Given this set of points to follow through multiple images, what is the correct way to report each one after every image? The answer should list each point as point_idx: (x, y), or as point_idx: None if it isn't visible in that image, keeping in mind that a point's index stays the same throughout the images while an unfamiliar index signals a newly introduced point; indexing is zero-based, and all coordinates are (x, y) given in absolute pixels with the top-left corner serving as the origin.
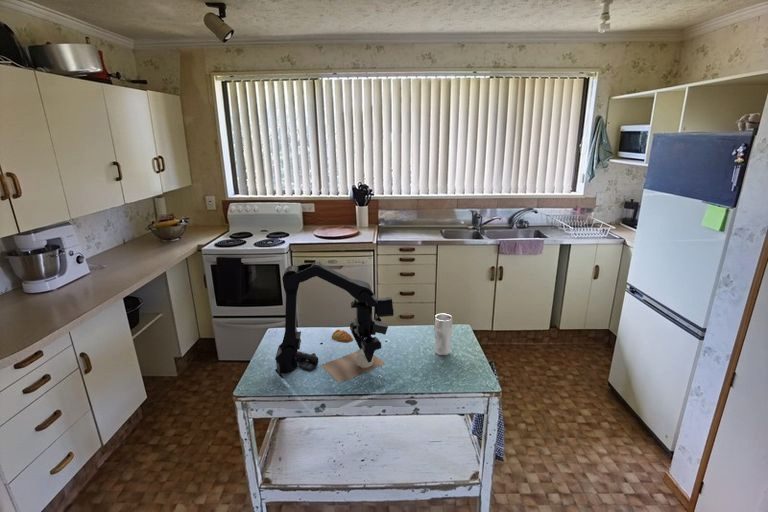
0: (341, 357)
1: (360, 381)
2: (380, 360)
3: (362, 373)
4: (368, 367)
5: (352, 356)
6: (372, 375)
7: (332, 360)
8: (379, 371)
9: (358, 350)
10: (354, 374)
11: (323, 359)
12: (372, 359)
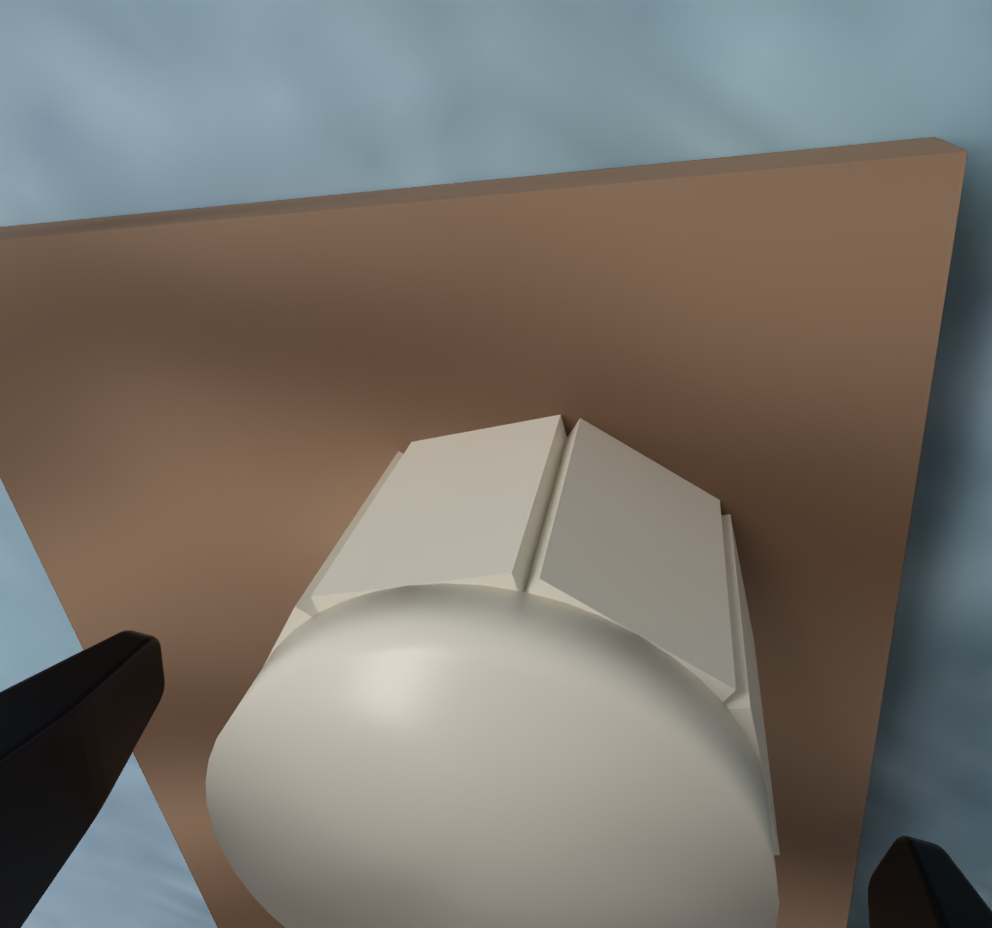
0: (157, 779)
1: (959, 857)
2: (665, 216)
3: (860, 821)
4: (757, 645)
5: (180, 644)
6: (982, 632)
7: (200, 886)
8: (983, 433)
9: (279, 910)
10: (779, 910)
11: (93, 856)
12: (746, 644)
